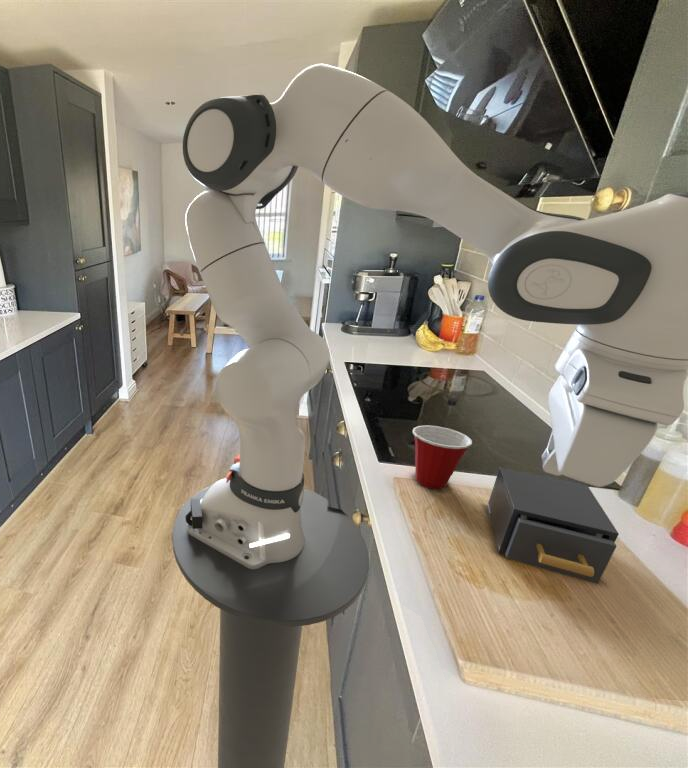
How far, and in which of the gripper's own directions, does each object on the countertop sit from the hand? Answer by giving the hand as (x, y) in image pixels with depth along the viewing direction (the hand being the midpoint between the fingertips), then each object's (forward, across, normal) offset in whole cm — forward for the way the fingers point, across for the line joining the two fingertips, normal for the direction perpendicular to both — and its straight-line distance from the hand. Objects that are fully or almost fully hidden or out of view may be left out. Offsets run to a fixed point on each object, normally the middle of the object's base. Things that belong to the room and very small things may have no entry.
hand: (549, 467), depth 48 cm
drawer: (+26, -17, +10) cm, 33 cm away
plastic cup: (+30, -31, -8) cm, 44 cm away
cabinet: (+27, -22, +10) cm, 36 cm away
